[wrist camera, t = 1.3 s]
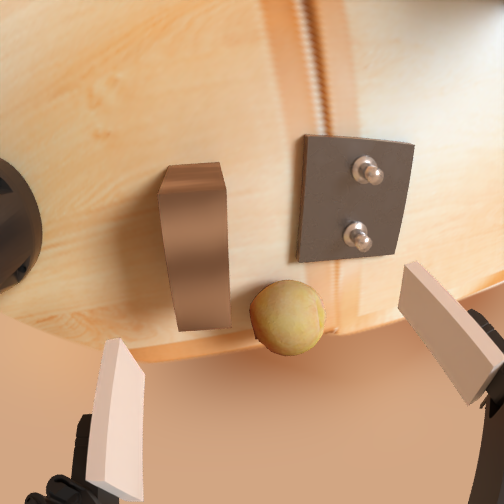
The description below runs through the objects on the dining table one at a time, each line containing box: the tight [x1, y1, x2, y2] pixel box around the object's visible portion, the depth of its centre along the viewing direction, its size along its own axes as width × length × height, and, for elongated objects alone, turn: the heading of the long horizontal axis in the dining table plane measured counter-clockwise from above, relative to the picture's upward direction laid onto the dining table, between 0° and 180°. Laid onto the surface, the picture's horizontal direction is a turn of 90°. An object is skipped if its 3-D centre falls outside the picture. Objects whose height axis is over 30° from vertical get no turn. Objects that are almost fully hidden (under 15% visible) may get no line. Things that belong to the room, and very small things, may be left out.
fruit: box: [249, 280, 326, 356], centre depth 32 cm, size 8×8×8 cm
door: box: [157, 162, 232, 332], centre depth 26 cm, size 12×4×8 cm, turn 0°
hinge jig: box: [296, 135, 415, 263], centre depth 29 cm, size 12×13×4 cm
